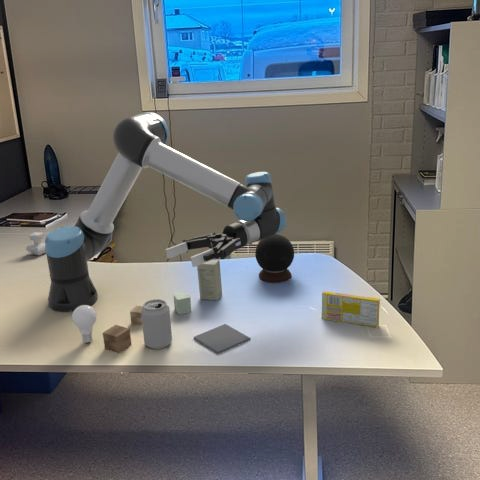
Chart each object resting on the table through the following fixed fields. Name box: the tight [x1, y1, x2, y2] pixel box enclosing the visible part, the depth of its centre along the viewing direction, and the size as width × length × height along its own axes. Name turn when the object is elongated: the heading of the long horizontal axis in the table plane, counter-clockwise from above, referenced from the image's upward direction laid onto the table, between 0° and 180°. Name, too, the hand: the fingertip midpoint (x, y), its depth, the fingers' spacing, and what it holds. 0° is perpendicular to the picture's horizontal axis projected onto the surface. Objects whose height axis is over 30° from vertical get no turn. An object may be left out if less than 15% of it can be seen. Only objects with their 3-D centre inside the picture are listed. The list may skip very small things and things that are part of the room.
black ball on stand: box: [254, 233, 295, 284], centre depth 190 cm, size 13×13×15 cm
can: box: [141, 298, 173, 350], centre depth 150 cm, size 8×8×12 cm
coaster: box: [193, 323, 251, 355], centre depth 153 cm, size 11×11×1 cm
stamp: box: [25, 231, 46, 256], centre depth 222 cm, size 9×7×8 cm
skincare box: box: [196, 259, 223, 301], centre depth 177 cm, size 6×4×12 cm
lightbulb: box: [71, 305, 97, 344], centre depth 152 cm, size 6×6×11 cm
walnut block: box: [102, 324, 132, 354], centre depth 151 cm, size 5×5×5 cm
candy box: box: [321, 290, 381, 329], centre depth 159 cm, size 16×2×8 cm, turn 66°
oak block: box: [129, 305, 143, 326], centre depth 164 cm, size 4×4×4 cm
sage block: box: [173, 291, 192, 316], centre depth 170 cm, size 4×4×5 cm
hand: (179, 258), depth 153 cm, fingers open, 13 cm apart
